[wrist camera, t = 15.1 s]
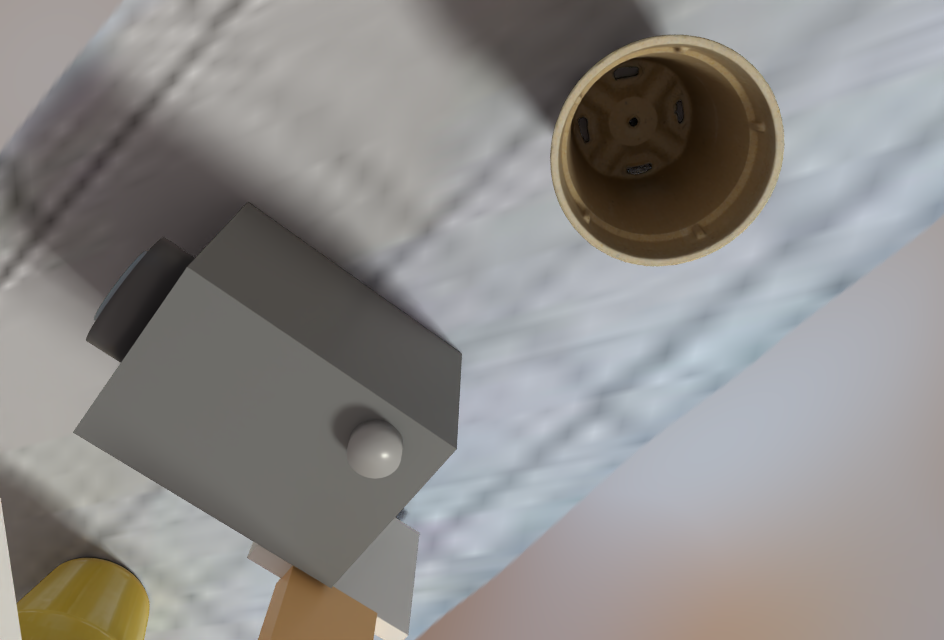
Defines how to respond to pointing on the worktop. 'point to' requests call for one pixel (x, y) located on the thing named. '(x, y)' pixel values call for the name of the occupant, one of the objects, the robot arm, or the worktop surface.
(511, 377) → the worktop surface
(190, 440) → the camera body
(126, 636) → the plant pot
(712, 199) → the flower pot
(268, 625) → the sliding cover
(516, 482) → the worktop surface
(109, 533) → the worktop surface
